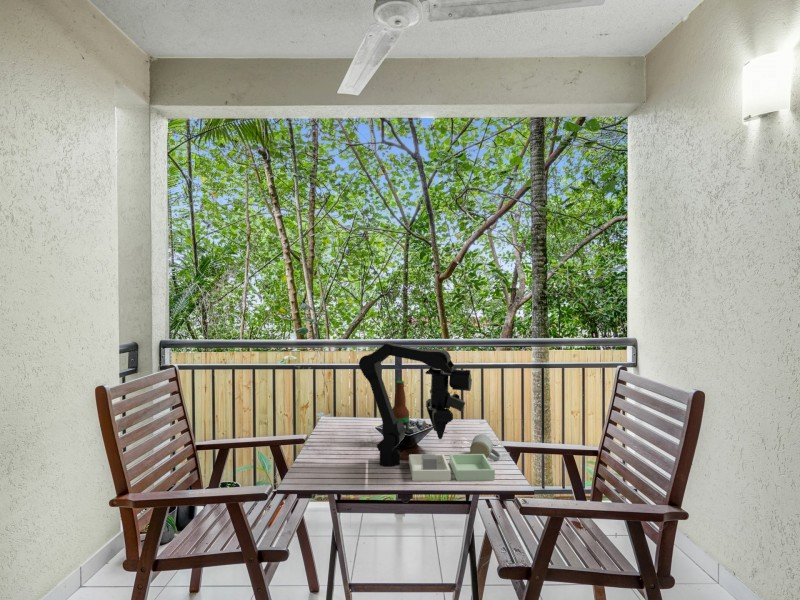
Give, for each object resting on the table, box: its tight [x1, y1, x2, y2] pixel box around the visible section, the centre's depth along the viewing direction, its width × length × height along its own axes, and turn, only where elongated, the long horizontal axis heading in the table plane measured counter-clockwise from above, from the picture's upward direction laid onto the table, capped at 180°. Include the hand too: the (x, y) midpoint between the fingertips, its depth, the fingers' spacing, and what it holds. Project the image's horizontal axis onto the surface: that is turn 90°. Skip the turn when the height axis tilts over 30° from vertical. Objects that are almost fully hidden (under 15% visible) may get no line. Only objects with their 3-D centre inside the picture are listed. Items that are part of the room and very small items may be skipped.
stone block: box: [421, 453, 437, 470], centre depth 170 cm, size 4×4×5 cm
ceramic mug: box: [469, 433, 501, 462], centre depth 187 cm, size 11×8×8 cm
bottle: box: [392, 380, 410, 431], centre depth 201 cm, size 7×7×25 cm
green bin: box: [448, 453, 496, 482], centre depth 171 cm, size 12×16×4 cm
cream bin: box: [408, 453, 452, 482], centre depth 170 cm, size 12×16×4 cm
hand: (437, 434), depth 172 cm, fingers open, 9 cm apart
